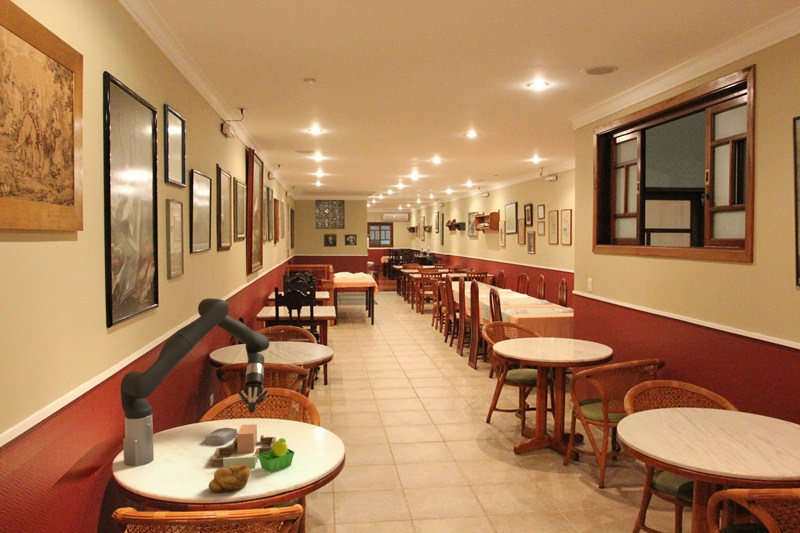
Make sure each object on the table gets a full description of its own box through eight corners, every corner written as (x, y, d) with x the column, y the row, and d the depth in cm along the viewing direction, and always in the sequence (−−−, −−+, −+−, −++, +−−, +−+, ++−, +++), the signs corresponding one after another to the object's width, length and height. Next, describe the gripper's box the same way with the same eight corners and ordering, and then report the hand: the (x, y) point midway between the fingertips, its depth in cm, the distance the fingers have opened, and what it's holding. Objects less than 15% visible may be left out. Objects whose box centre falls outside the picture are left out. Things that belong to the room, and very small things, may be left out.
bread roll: (209, 497, 181) (208, 473, 181) (207, 485, 190) (206, 462, 190) (251, 490, 186) (250, 466, 186) (247, 478, 195) (246, 455, 195)
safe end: (223, 468, 204) (223, 457, 203) (255, 466, 205) (255, 456, 205) (223, 469, 203) (223, 458, 202) (255, 468, 204) (254, 457, 204)
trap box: (223, 443, 229) (222, 437, 229) (276, 440, 231) (276, 434, 231) (209, 469, 203) (209, 462, 203) (269, 466, 205) (269, 459, 205)
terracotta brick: (241, 443, 229) (241, 424, 229) (257, 442, 230) (256, 424, 230) (237, 453, 218) (237, 434, 218) (253, 452, 219) (253, 433, 219)
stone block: (203, 448, 228) (225, 445, 226) (201, 437, 228) (223, 433, 226) (218, 439, 240) (239, 436, 238) (216, 428, 240) (237, 424, 238)
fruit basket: (284, 459, 211) (283, 429, 211) (298, 466, 205) (297, 435, 204) (256, 468, 203) (256, 437, 203) (270, 476, 197) (269, 444, 196)
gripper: (238, 372, 246) (234, 408, 234) (269, 370, 247) (267, 407, 236) (240, 381, 251) (236, 417, 240) (270, 380, 253) (268, 415, 241)
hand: (251, 412), depth 238 cm, fingers closed
